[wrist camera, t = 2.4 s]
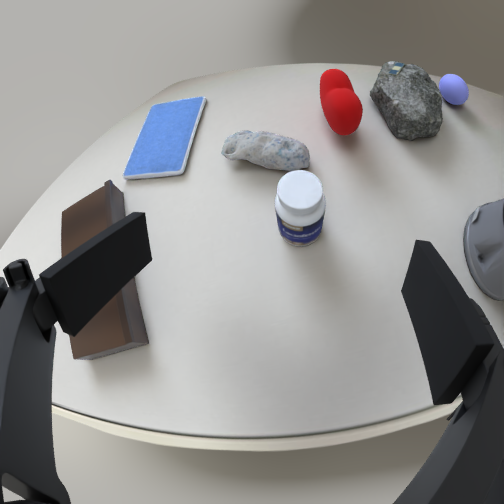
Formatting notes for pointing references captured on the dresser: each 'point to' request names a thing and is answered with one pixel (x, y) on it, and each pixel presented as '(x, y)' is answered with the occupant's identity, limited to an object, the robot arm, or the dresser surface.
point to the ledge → (125, 301)
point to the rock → (408, 100)
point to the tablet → (165, 139)
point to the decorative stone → (267, 150)
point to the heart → (340, 102)
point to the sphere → (453, 89)
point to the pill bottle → (300, 207)
